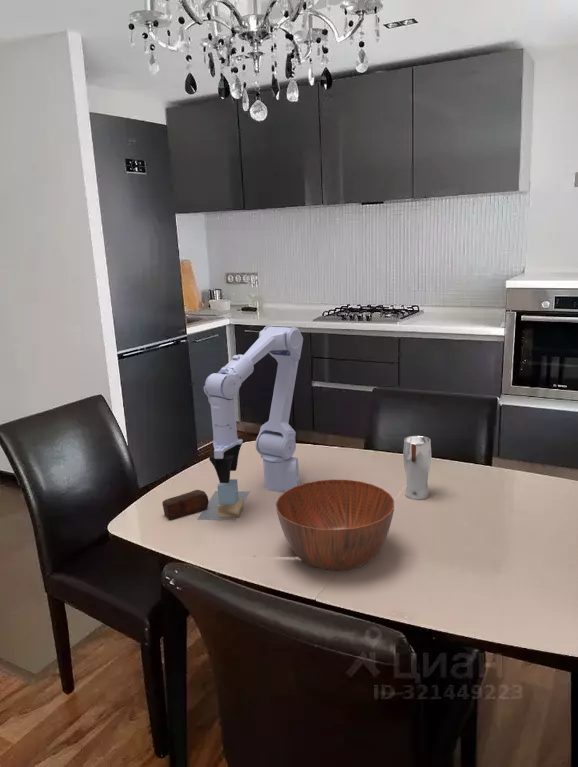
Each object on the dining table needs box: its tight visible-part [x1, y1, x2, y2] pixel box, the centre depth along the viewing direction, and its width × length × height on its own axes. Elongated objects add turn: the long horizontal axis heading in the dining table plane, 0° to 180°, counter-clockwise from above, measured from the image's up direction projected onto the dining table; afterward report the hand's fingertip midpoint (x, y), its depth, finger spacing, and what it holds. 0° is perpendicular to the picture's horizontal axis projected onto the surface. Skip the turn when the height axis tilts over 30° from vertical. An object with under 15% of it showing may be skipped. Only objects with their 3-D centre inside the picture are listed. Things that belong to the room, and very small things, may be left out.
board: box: [197, 490, 250, 521], centre depth 153 cm, size 10×17×1 cm, turn 172°
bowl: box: [275, 478, 395, 571], centre depth 128 cm, size 25×25×11 cm
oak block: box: [218, 497, 244, 518], centre depth 148 cm, size 5×5×3 cm
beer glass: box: [402, 435, 432, 501], centre depth 154 cm, size 7×7×15 cm
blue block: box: [217, 478, 239, 505], centre depth 147 cm, size 4×4×5 cm
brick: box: [161, 489, 209, 521], centre depth 150 cm, size 11×4×5 cm, turn 122°
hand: (228, 476), depth 146 cm, fingers open, 7 cm apart
